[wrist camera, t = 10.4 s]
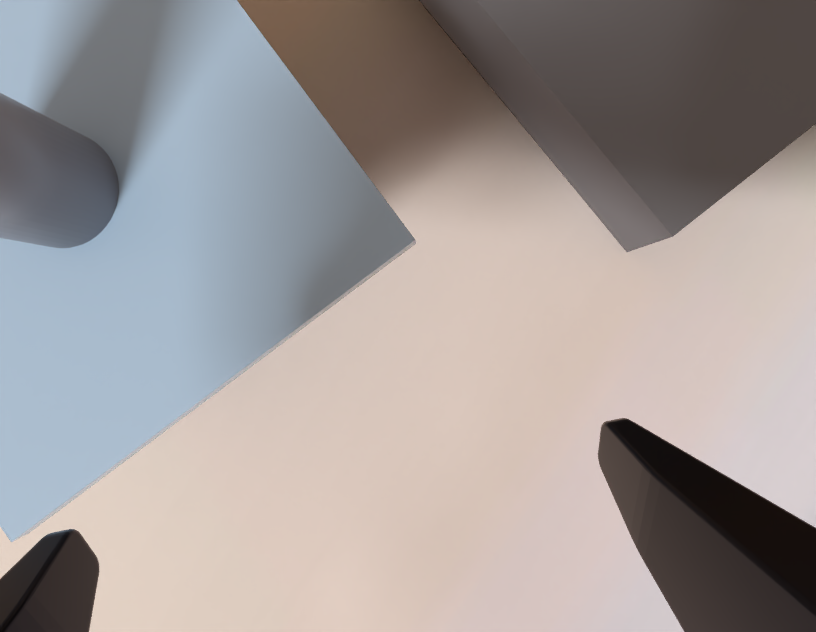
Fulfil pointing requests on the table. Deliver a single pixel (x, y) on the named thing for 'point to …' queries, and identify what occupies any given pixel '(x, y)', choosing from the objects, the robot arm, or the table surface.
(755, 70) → the gray square slab
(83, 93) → the square plate with knob
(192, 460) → the table surface
